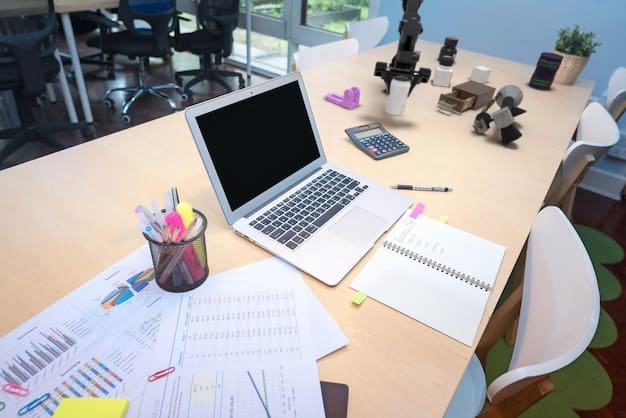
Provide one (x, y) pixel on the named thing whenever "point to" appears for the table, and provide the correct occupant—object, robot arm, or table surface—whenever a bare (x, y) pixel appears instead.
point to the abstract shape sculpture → (503, 113)
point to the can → (398, 95)
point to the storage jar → (545, 71)
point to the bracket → (346, 98)
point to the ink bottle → (449, 48)
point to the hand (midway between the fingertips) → (398, 95)
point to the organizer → (477, 92)
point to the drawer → (456, 100)
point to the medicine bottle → (443, 72)
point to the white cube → (480, 74)
